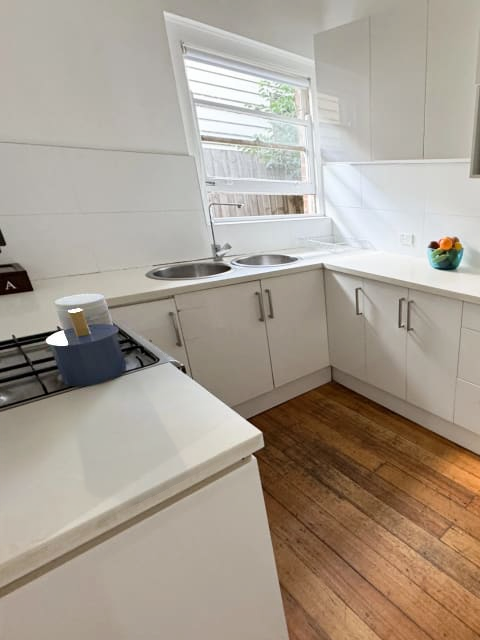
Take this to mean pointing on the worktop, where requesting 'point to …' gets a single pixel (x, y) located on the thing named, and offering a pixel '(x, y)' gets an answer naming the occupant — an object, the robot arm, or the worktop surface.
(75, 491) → the worktop surface
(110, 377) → the tin
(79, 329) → the lid
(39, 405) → the worktop surface
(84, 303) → the supplement tub
